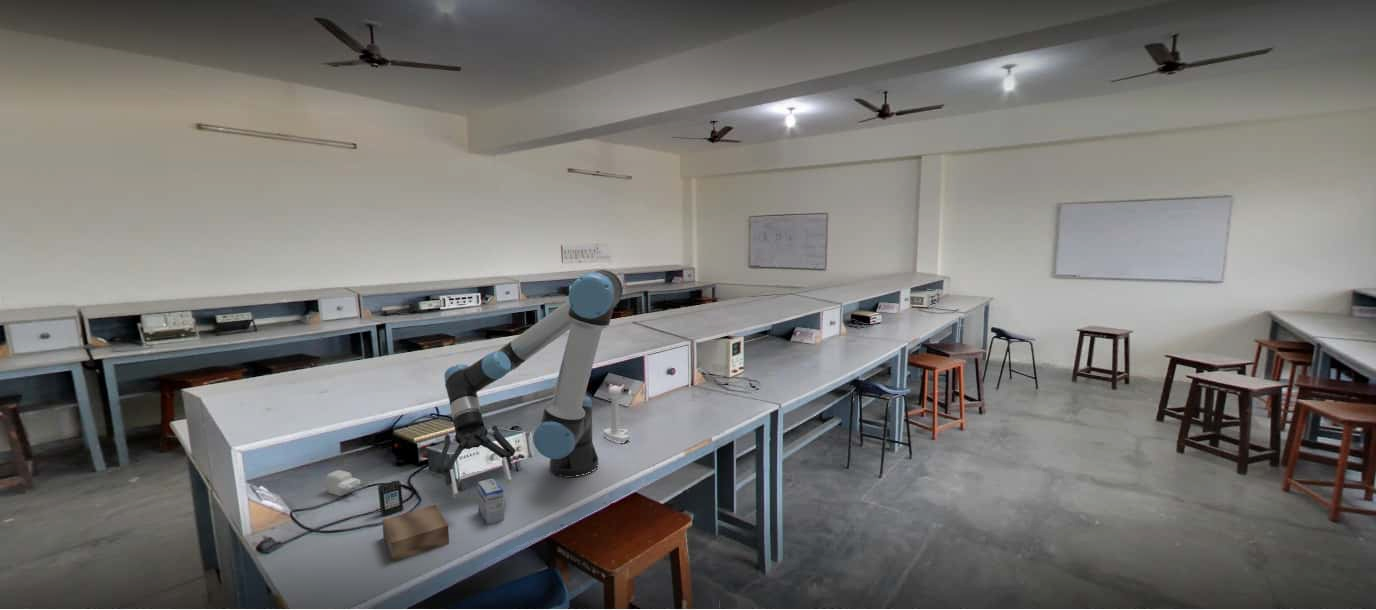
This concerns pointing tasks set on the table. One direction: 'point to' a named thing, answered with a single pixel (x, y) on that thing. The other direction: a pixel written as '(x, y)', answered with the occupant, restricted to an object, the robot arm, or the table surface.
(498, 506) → the medicine box
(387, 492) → the ink cartridge
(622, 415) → the table surface
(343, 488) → the power adapter
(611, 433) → the joystick
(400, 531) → the walnut block
